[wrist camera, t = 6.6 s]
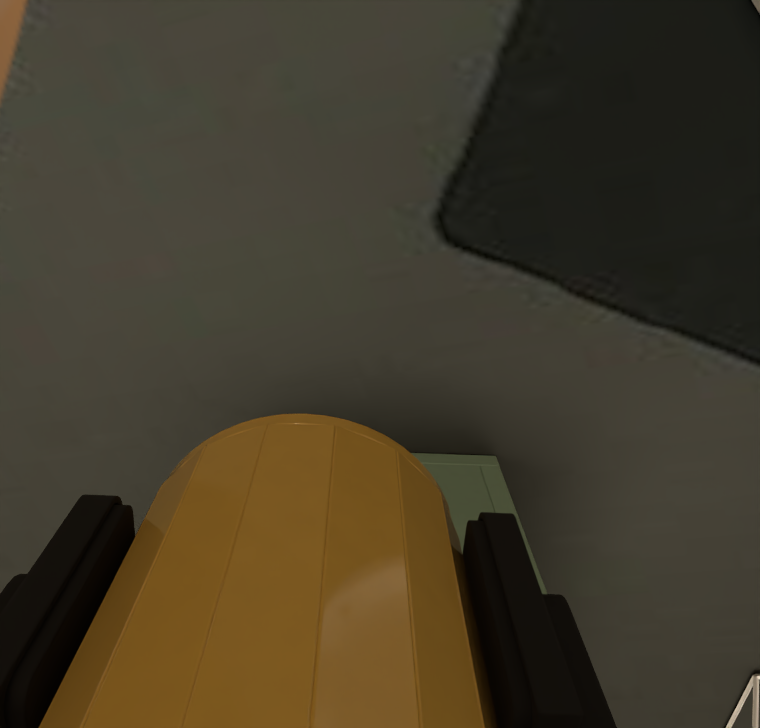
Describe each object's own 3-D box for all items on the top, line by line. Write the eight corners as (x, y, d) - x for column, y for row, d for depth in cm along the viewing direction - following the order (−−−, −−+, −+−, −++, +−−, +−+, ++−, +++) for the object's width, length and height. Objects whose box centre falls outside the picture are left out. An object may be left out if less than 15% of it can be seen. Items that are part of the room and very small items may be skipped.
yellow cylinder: (94, 472, 12) (-201, 897, 6) (395, 368, 11) (432, 719, 5) (230, 693, 13) (121, 1183, 7) (491, 615, 13) (602, 1081, 7)
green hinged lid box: (233, 446, 30) (178, 602, 21) (496, 455, 31) (554, 610, 22) (239, 680, 35) (198, 887, 26) (465, 684, 36) (501, 888, 27)
